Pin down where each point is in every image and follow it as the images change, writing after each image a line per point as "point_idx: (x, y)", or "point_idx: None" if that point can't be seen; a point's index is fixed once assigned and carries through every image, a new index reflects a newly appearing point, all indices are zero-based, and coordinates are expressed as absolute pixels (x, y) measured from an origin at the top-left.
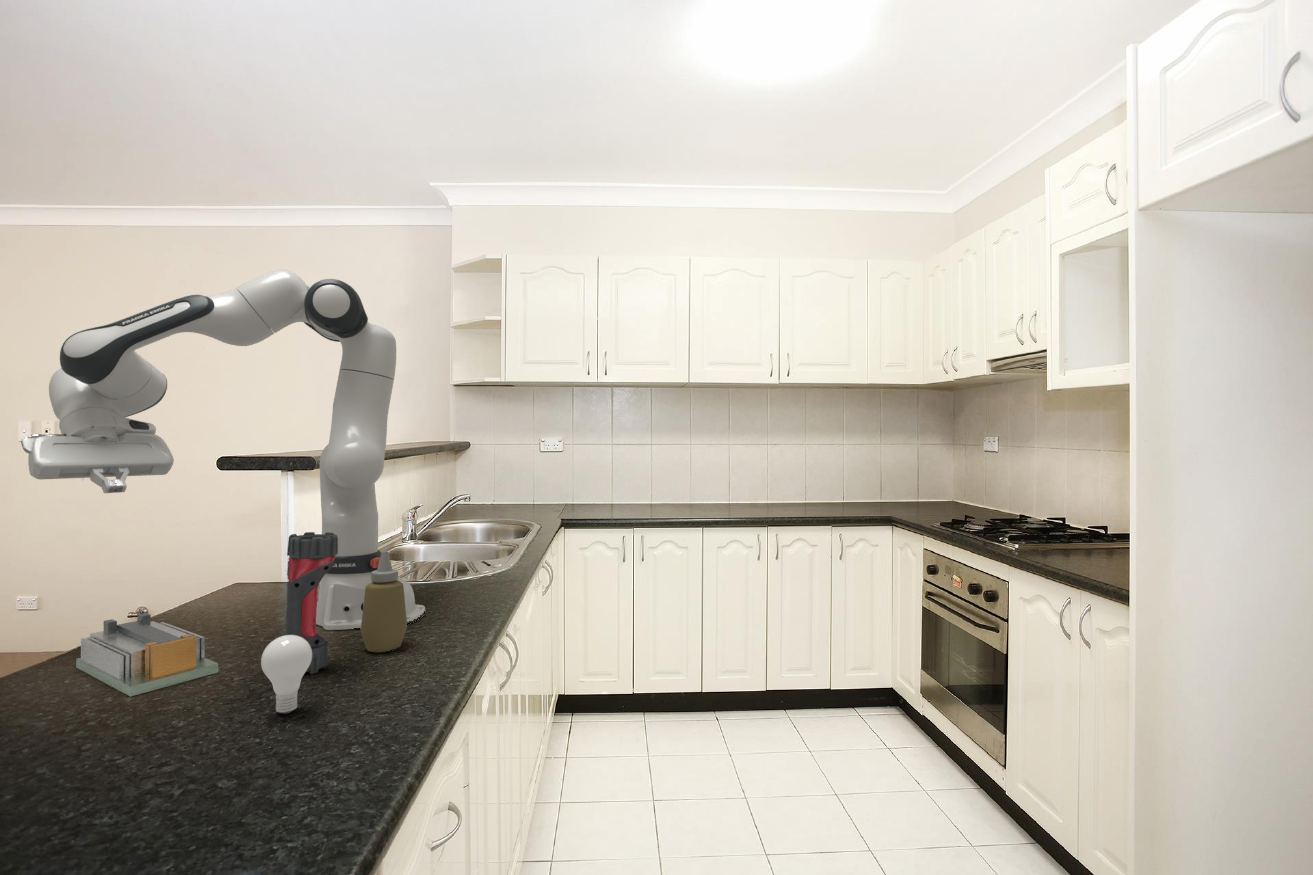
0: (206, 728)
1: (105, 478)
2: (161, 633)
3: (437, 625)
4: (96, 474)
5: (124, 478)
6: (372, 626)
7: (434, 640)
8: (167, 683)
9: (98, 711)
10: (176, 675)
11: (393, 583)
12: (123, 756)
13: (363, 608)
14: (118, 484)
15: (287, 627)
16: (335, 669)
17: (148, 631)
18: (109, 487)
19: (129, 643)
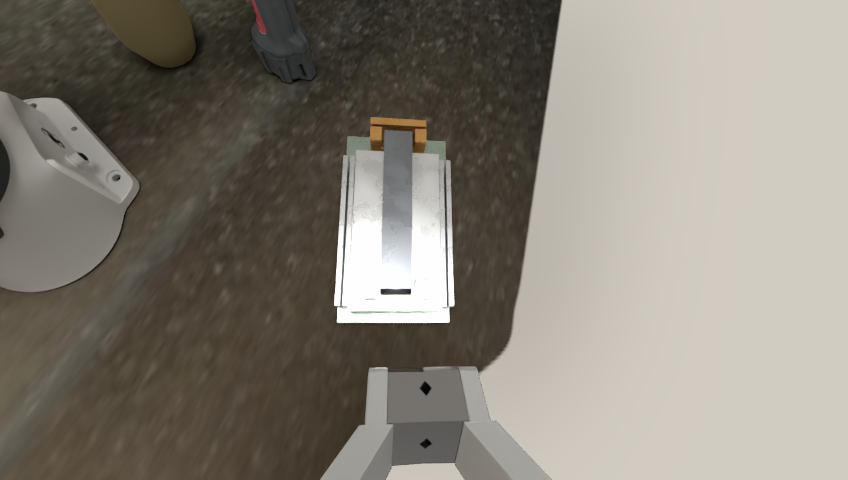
0: (431, 16)
1: (484, 435)
2: (390, 178)
3: (32, 64)
4: (548, 477)
5: (361, 430)
6: (180, 5)
7: None
8: None
9: (476, 132)
10: None
11: None
12: (493, 21)
13: (158, 6)
14: (412, 377)
15: (295, 14)
16: None
17: (397, 204)
18: (459, 369)
19: (424, 200)
